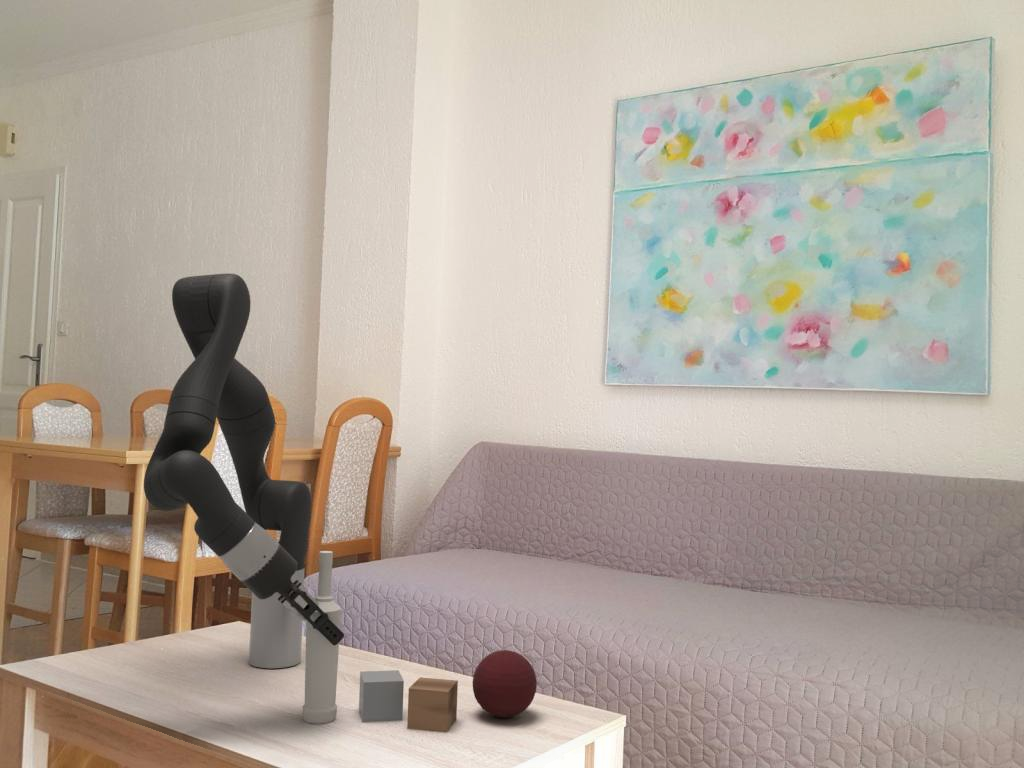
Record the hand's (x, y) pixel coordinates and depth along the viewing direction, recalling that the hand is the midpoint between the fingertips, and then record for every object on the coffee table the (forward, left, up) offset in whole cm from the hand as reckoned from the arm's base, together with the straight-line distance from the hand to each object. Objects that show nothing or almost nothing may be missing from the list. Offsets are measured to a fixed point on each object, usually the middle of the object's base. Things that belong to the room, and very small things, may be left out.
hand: (333, 634), depth 141 cm
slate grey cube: (-1, +7, -12) cm, 15 cm away
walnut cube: (+3, +15, -12) cm, 20 cm away
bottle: (+1, -2, -13) cm, 13 cm away
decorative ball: (-1, +26, -13) cm, 29 cm away
